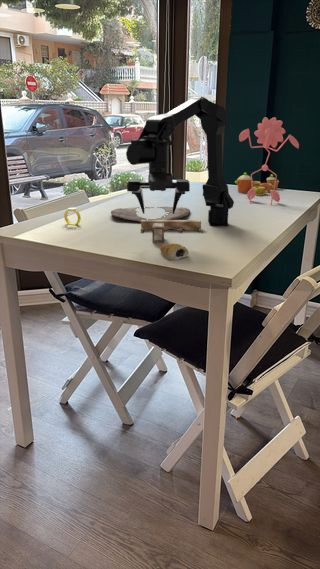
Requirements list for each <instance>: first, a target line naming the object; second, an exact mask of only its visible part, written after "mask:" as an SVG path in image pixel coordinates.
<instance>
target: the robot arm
mask: <svg viewBox="0 0 320 569" xmlns="http://www.w3.org/2000/svg"><path fill="white" fill-rule="evenodd" d="M194 116H195V117H196V118H198V119H199V120H200V124H201V126H200V127H201V129H202V130H203V132H204V133H205V136H206V153H207V154H206V156H207V180H206V182H205V183H204V184H203V185H202V196H203V199H204V202H205V206H206V207H209V209H208V211H207V214H208V215H207V223H208V224H209V226H212V227H213V226H216V227H217V226H218V227H220V226H222V227H226V226H229V210H230V209H233V207H234V204H235V201H234V199H233V198H232V197H231V195H230V193H229V185H228V183H227V182H226V180H225V179H224V173H223V172H224V171H223V170H224V168H223V132H224V130H225V129H226V126H227V119H228V112H227V109H225V107H224V106H222V105H221V106H220V105H219V104H217V103H214V102H213V101H211V100H209V99H208V98H206V97H204V96H192V97H191V98H190V99H188V100H187V101H185V102H183V103H182V104H179V105H178V106H177V107H175V108H173V109H172V110H170V111H168V112H166V113H161V114H158V115H154V116H151V117H148V118H147V119H146V120H145V124H144V127H143V129H142V130H141V133H140V134H139V137H138V139H131V140H130V144H129V145H128V147H127V149H126V151H125V155H126V159H127V161H128V163H129V164H130V165H131V166H136V165H144V164H148V179H147V180H148V181H147V182H146V181H144V182H143V181H142V180H141V179H138V178H137V179H135V178H134V179H133V178H132V179H131V178H130V179H129V180H128V181H127V182H126V191H127V192H131V195H134V196H135V197H136V199H137V201H138V203H139V205H140V207H141V208H140V209H141V212H142V214H145V208H144V207H145V200H144V193H143V189H149V190H150V191H151V192H155V191H161V192H165V191H166V190H167V189H175V191H174V197H173V204H172V207H173V214H174V212H175V209H176V207H178V203H179V200H180V199H181V197H182V195H185V194H186V192H190V190H191V189H190V180H189V179H176V181H174V180H173V179H174V178H173V177H174V176H173V174H174V173H173V172H172V173H170V172H169V146H173V145H174V142H173V141H172V140H171V139H170V138H169V137H170V136H171V135H172V134H173V133H175V132H176V128H177V127H178V126H179V125H181V124H183V123H184V122H185V121H187V120H189V119H190V118H192V117H194ZM173 181H174V182H173Z"/></svg>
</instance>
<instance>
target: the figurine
mask: <svg viewBox="0 0 320 569" xmlns="http://www.w3.org/2000/svg"><path fill="white" fill-rule="evenodd" d="M282 125H283V121H282V120H277V117H274V116H273V117H272V118H270V119H269V118H268V117H266V116H265V117H263V119H262V122H259V123H258V124H257V130H255V131H254V135H255V137H257V140H256V141H257V143H258V144H262V145H257V146H253V145H252V141H251V136H250V133H251V132H250V128H246V129H244V130H242V131H241V132H240V134H239V136H238V140H239V142H244V141H245V140H246V139H248V141H249V146H250V148H251V149H254V148H255V149H257V148H258V149H259V148H264V149H265V150H266V151H267V153H268V155H267V157H266V161H265V164H262V166H261V168H260V169H258V170H255V171H253V172H252V173H251V174H250V177H251V183H252V179H253V175H254V174H256V173H258V172H259V171H261V170H262V171H264V172H266V171H269V172H271V173H272V175H274V176H275V178H276V179H277V177H278V175H277V174H276V173H275V172H274V171H272V170H271V169H269V166H268V165H267V163H268V160H269V157H270V154H271V152H270V150H272V151H273V152H277V153H278V151H279V150H280V149H281V148H282V147H283V146H284V144H285V143H286V142H287V141H288V140H289V142H290V143H291V145H293V146H294V148H296V149H299V148H300V147H299V146H300V143H299V141H298V140H297V139H296V138H295V137H294V136H293V135H292V134H288V136H287V138H286V139H285V140H284V137H283V135H284V134H285V133H287V132H286V130H285V129H284V128H283V127H282ZM278 142H279V143H281V145H280V146H279V147H278V148H277V149H276V147H277V146H278ZM270 146H271V147H272V148H271V147H270ZM268 149H269V150H268ZM276 179H275V184H276ZM269 193H270V198H269V197H266V199H269V200H270V203H269V204H270V206H272V204H273V200H274V201H275V202H277V203H279V202H280V200H281V197H280V196H281V195H280V193H278V191H277V190H275V185H274V190H270V192H269ZM246 196H247V197H246V198H247V200H249V204H251V202H252V200H253V199H257V197H256V196H257V195H256V190H255V189H253V185H252V189H250V190H249V191H248V193H246ZM286 206H287V205H286V204H285V205H284V207H286Z"/></svg>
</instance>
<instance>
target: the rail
mask: <svg viewBox="0 0 320 569" xmlns="http://www.w3.org/2000/svg"><path fill="white" fill-rule="evenodd" d="M153 223H164V231H167V230H166V229H179V230H178V231H180V232H179V233H183V230H182V229H185V230H184V231H198V230H199V231H198V233H199V232H201V233H202V220H200V219H185V220H184V219H175V220H141V222H140V233H144V231H152V227H153Z"/></svg>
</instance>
